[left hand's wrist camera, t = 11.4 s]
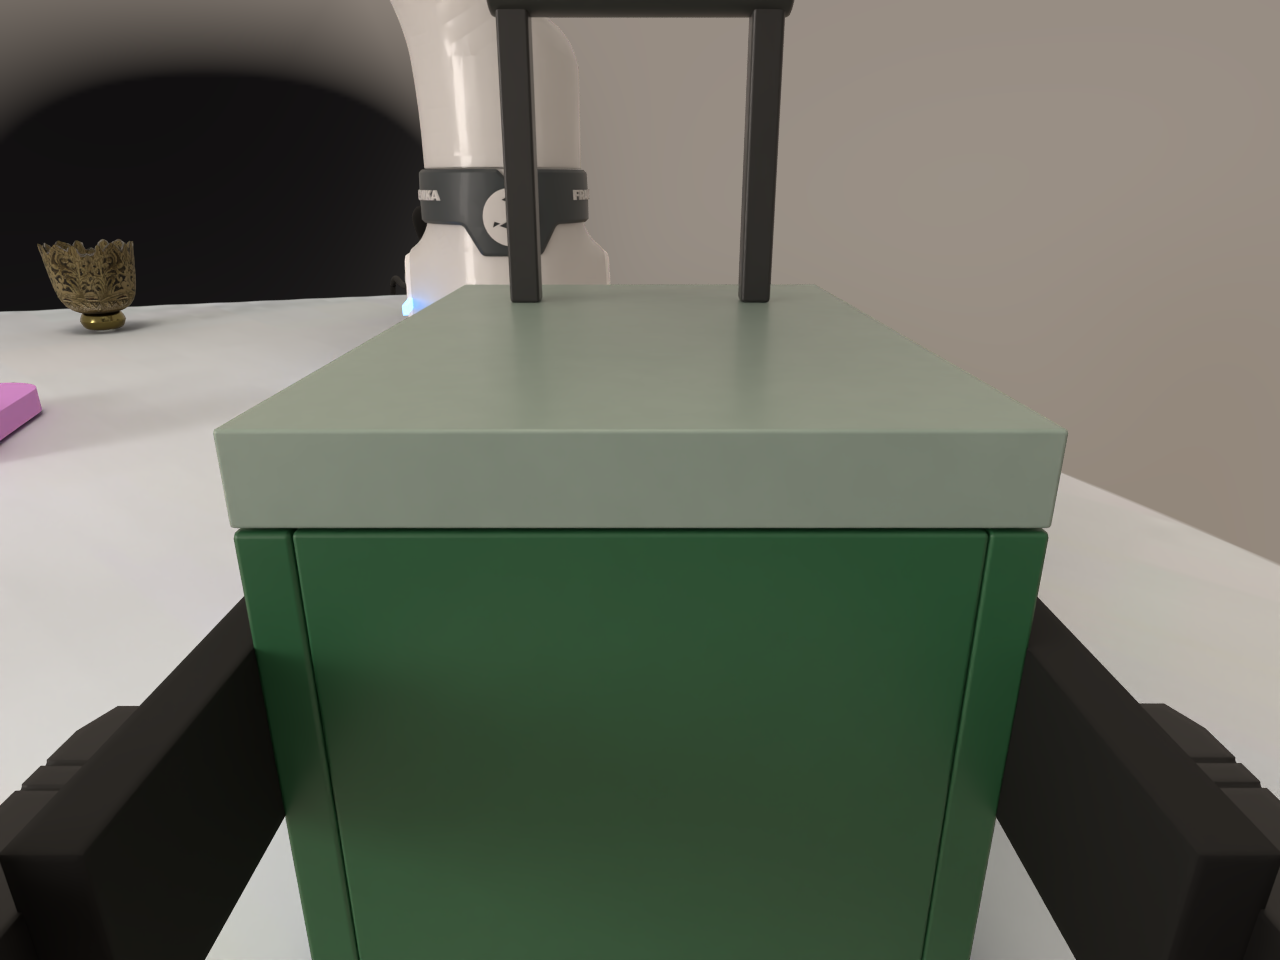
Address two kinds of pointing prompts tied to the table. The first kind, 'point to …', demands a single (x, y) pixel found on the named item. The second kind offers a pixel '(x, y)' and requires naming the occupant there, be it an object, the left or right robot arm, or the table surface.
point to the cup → (93, 280)
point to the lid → (640, 384)
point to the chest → (640, 736)
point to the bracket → (17, 406)
